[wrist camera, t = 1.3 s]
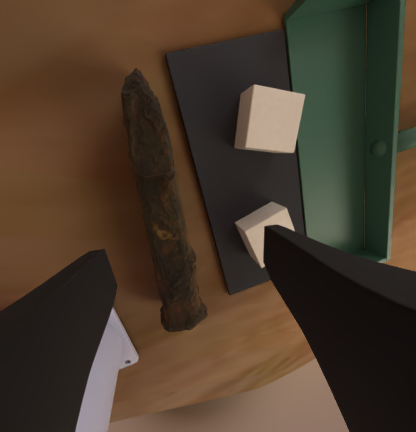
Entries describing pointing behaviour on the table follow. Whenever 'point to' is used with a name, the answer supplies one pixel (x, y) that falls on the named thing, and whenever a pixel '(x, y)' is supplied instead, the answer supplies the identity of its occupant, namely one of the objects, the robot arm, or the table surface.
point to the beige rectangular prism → (268, 119)
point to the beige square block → (261, 228)
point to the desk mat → (225, 140)
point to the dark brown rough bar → (161, 205)
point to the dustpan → (348, 118)
